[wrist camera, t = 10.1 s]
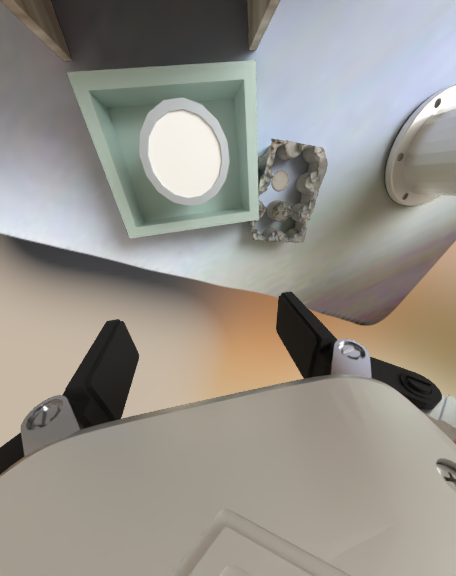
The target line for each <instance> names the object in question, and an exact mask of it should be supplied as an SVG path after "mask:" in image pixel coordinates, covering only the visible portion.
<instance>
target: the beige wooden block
mask: <svg viewBox="0 0 456 576" xmlns="http://www.w3.org/2000/svg"><path fill="white" fill-rule="evenodd" d="M0 1H1V2H2V3H3V4H4V5H5V6H6V7H7V8H8V9H9V10H10V11H11V12H12V13H13V14H15V15H16V16H17V17H18V18H19V19H20V20H21V21H22V22H23V23H24V24H25V25H26V26H27V27H28V28H29V29H30V30H31V31H32V32H33V33H34V34H36V35H37V36H38V37H39V38H40V39H41V40H42V41H43V42H44V43H45V44H46V45H47V46H48V47H49V48H50V49H51V50H52V51H53V52H54V53H56V54H57V55H58V56H59V57H60V58H61V59H62V60H63V61H72V59H71V56H70V53H69V50H68V48H67V45H66V42H65V39H64V37H63V34H62V31H61V28H60V26H59V23H58V20H57V17H56V14H55V12H54V9H53V6H52V3H51V1H50V0H0ZM247 2H248V34H249V50H256V49H257V47H258V45H259V43H260V41H261V39H262V37H263V35H264V33H265V31H266V29H267V27H268V25H269V23H270V20H271V18H272V16H273V14H274V12H275V10H276V8H277V6H278V4H279V2H280V0H247Z"/></svg>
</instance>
